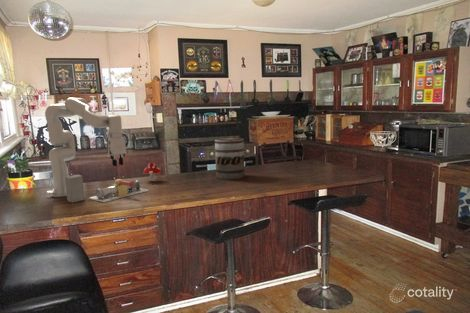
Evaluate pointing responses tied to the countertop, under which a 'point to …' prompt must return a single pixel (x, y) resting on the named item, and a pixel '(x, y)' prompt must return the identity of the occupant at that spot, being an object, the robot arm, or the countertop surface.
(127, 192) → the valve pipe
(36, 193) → the countertop surface
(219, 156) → the barrel
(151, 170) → the decorative mushroom
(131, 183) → the lever
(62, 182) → the robot arm
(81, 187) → the skincare box
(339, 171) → the countertop surface
